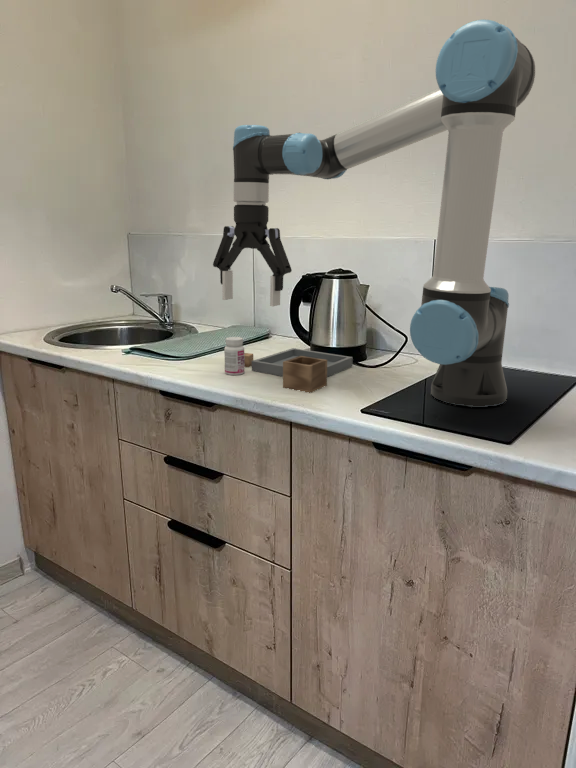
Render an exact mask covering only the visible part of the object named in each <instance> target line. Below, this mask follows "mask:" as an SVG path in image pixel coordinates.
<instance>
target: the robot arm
mask: <svg viewBox="0 0 576 768" xmlns="http://www.w3.org/2000/svg"><path fill="white" fill-rule="evenodd" d="M535 77H536V63H535V60H534V57H533V55H532V53H531V51H530V50H529V48H528V47H527V46H526V45H525V44H524V43H522V42H521V41H520V40H519V39H518V38H517V37H516V36H515V33H514V32H513V31H512V30H511V29H510V28H509V27H508V26H506V25H505V24H502V23H499V22H498V21H496V20H491V19H478V20H477V19H476V20H473V21H470V22H468V23H466V24H463V25H462V26H461V27H459V28H457V30H455V31H454V32H453V33H452V34H451V35H450V36H449V37H448V38H447V39H446V41H445V42H444V44H443V45H442V47H441V49H440V51H439V54H438V57H437V60H436V63H435V79H436V83H437V85H438V88H436V89H434V90H432V91H430V92H428V93H425V94H423V95H421V96H418V97H416V98H414V99H412V100H410V101H407V102H404V103H403V104H400V105H398V106H396V107H393V108H391V109H390V110H386V111H384V112H382V113H380V114H378V115H376V116H373V117H371V118H369V119H367V120H364V121H363V122H360V123H358V124H356V125H353V126H351V127H349V128H346V129H344V130H342V131H340V132H338V133H336V134H334V135H331V136H329V137H326V138H324V139H318V137H317V135H315V134H314V133H302V132H295V133H290V134H277V135H270V129H269V128H268V127H267V126H265V125H259V124H243V125H238V126H236V127H235V129H234V130H233V131H234V132H233V146H232V150H233V202H235V203H236V204H235V205H234V206H233V222H234V223H235V226H233V225H230V226H228V225H225V226H224V227H223V231H222V233H223V234H222V237H221V241H220V244H219V246H218V249H217V252H216V254H215V258H214V259H213V262H212V266H213V267H214V268H217V269H219V271H220V272H219V273H220V275H219V276H220V278H219V279H220V285H222V300H223V301H226V300H233V296H234V295H233V294H234V293H233V292H234V291H233V280H234V279H233V274H234V273H233V272H234V271H233V270H232V268H231V267H232V266H233V264H234V263H235V262H236V260H237V259H238V257H239V255H240V254H241V252H242V251H243V250H244V249H254V250H257V251H258V252H259V253H260V254H261V256H262V257H263V259H264V261H265V262H266V264H267V266H268V267H269V268H270V270H271V272H272V275H270V285H269V286H270V287H269V289H270V293H269V294H270V295H269V297H270V298H269V306H270V307H277V306H280V305H281V291H283V289H284V276H285V275H287V274H290V273H292V267H291V264H290V262H289V261H290V260H289V258H288V255H287V254H286V249H285V248H284V245H283V243H282V239H281V230H280V228H278V227H275V228H273V227H271V228H268V222H269V214H270V213H269V210H270V209H269V206H268V205H267V203H269V199H270V197H269V195H270V194H269V190H270V185H269V183H270V175H292V176H293V175H294V176H303V177H310V178H318V179H324V180H332V179H334V180H335V179H338V178H340V177H342V176H343V175H344V174H345V173H346V172H347V170H350V169H352V168H354V167H356V166H359V165H362V164H365V163H367V162H369V161H372V160H375V159H377V158H381V157H382V156H385V155H387V154H391V153H393V152H395V151H398V150H400V149H402V148H405V147H407V146H411V145H413V144H415V143H419V142H420V141H424V140H425V139H428V138H430V137H434V136H436V135H438V134H440V133H443V132H446V131H447V132H448V135H447V136H448V137H447V145H446V146H447V147H446V153H445V161H444V162H445V164H444V171H443V172H444V174H443V182H442V183H443V184H442V190H441V192H442V193H441V201H440V210H439V218H438V220H439V221H438V227H437V228H438V229H437V236H436V237H437V238H436V247H435V255H434V256H435V257H434V265H433V273H432V276H431V278H430V279H429V280H427V281H426V282H425V283H424V284H423V286H422V294H421V302H420V303H421V305H420V307H418V309H417V310H416V311H415V312H414V314H413V316H412V318H411V321H410V323H409V335H410V339H411V342H412V344H413V346H414V348H415V349H416V351H418V353H419V354H420V356H422V357H423V358H424V359H426V360H427V361H429V362H431V363H434V364H437V365H438V367H437V370H436V372H435V376H434V378H433V380H432V382H431V385H430V395H431V394H432V395H433V396H434V397H435V398H437V399H440V400H442V401H446V402H449V403H455V404H464V405H473V406H485V405H494V404H499V403H502V402H504V401H506V402H507V400H506V399H508V388H507V382H506V379H505V374H504V369H503V365H502V364H503V363H502V360H503V353H504V352H503V351H504V344H505V336H506V335H505V333H506V326H507V317H508V309H509V306H510V303H509V292H508V290H507V289H505V288H503V287H495V286H489V285H488V284H487V283H486V282H485V280H484V278H485V277H484V276H485V269H486V261H487V253H488V247H489V238H490V229H491V223H492V216H493V211H494V210H493V209H494V201H495V193H496V186H497V178H498V171H499V165H500V158H501V157H500V156H501V150H502V142H503V134H504V131H505V129H506V128H507V127H509V126H510V125H511V123H513V122H514V121H515V120H516V119H515V118H516V112H517V108H518V107H519V106H520V105H521V104H522V103H523V102H524V101H525V100H526V99H527V98H528V96H529V94H530V92H531V90H532V88H533V86H534V83H535ZM235 237H236V238H235ZM234 238H235V239H234ZM267 238H268V240H269V242H268V240H267ZM269 243H270V244H269ZM231 246H232V247H231ZM435 398H434V399H435Z"/></svg>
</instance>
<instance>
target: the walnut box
mask: <svg viewBox="0 0 576 768" xmlns="http://www.w3.org/2000/svg"><path fill="white" fill-rule="evenodd" d="M327 382H328V377H327V360H324V359H318V358H312V357H306V356H298V357H295V358H292V359H290V360H287V361H284V362H283V376H282V388H283V389H287V388H289V389H288V390H292V389H294V391H297V390H300V391H299V392H302V391H305V392H304V393H307V392H309V393H308V394H311V393H313V391H314V392H316V391H317V389H318V390H320V389H322V387H323V388H325V387H326V386H328V383H327ZM324 386H325V387H324ZM315 390H316V391H315ZM310 392H311V393H310Z"/></svg>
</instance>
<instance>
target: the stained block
mask: <svg viewBox="0 0 576 768" xmlns="http://www.w3.org/2000/svg"><path fill="white" fill-rule="evenodd" d="M244 357H245V368H250V367H252V361H253V360H254V353H249V352H244Z"/></svg>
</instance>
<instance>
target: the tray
mask: <svg viewBox="0 0 576 768" xmlns="http://www.w3.org/2000/svg"><path fill="white" fill-rule="evenodd" d="M298 356H306V357H312V358H318V359H324V360H327V378H328V377H331V376H333V375H335V374H338V373H341V372H343V371H345V370H347V369H350V368H352V367H353V363H354V362H353V361H354V359H353V356H347V355H342V354H335V353H328V352H322V351H314V350H307V349H301V348H294V347H293V348H292V347H291V348H289V349H286V350H285V349H284V350H283V351H279V352H276V353H273V354H270V355H267V356H264V357H260V358H257V359H253V361H252V366H251V371H252V372H257V373H262V374H268V375H274V376H279V377H283V362H284V361H287V360H290V359H292V358H295V357H298Z"/></svg>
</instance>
